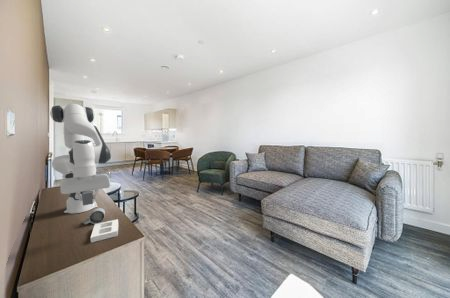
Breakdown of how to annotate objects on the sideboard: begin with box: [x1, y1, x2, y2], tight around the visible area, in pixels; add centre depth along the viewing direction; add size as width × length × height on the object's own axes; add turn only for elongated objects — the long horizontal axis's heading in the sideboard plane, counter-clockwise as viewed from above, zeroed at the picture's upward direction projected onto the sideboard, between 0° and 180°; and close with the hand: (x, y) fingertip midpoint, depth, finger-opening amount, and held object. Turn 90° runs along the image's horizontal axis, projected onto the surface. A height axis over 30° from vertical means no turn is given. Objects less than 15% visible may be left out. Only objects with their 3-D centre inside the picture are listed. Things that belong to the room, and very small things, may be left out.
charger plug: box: [82, 190, 95, 205], centre depth 94 cm, size 4×4×6 cm
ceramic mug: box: [83, 207, 106, 226], centre depth 110 cm, size 11×8×8 cm
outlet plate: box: [90, 219, 119, 243], centre depth 97 cm, size 16×11×2 cm
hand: (88, 199), depth 95 cm, fingers closed on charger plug, 4 cm apart
